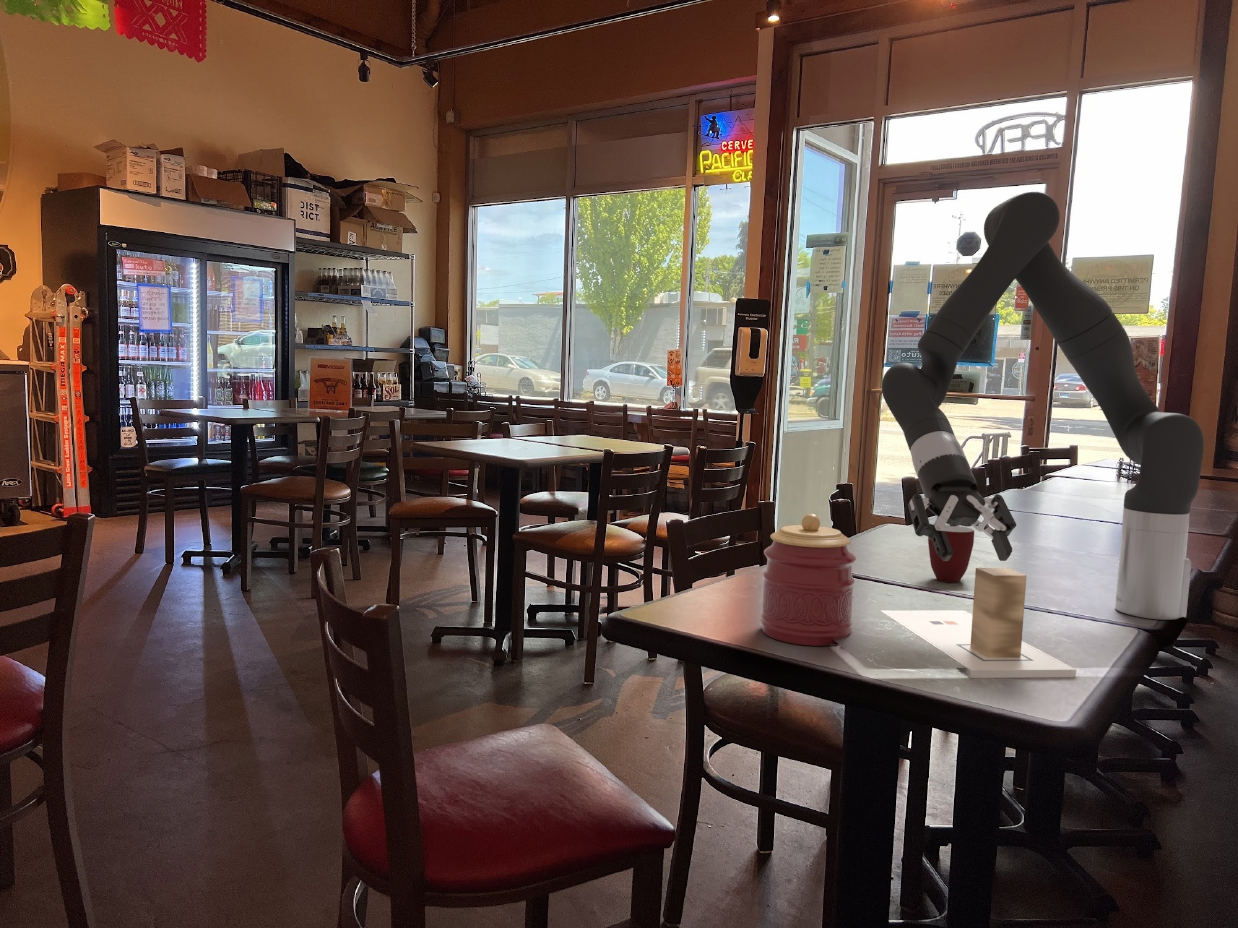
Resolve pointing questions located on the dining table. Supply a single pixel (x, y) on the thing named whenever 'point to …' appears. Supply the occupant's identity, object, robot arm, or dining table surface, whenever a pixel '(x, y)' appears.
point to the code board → (955, 640)
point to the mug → (959, 561)
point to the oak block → (998, 612)
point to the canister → (808, 585)
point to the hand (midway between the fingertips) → (977, 557)
